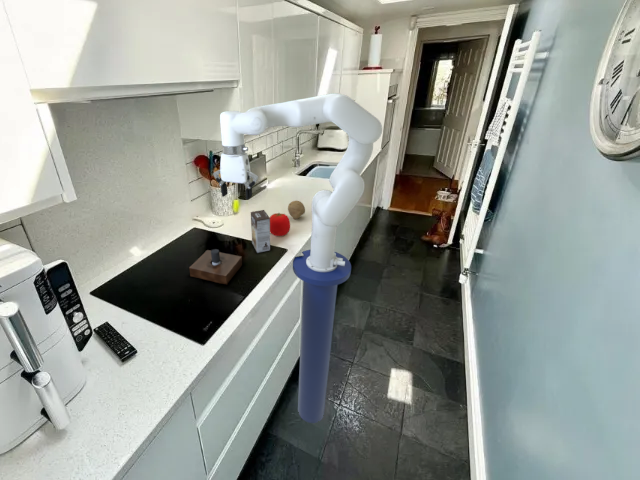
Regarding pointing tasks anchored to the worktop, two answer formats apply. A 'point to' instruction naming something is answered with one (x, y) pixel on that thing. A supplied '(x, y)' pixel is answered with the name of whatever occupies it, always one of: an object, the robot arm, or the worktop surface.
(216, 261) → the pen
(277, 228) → the tomato
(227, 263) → the holder
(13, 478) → the worktop surface
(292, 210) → the natural sponge
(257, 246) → the coffee box
